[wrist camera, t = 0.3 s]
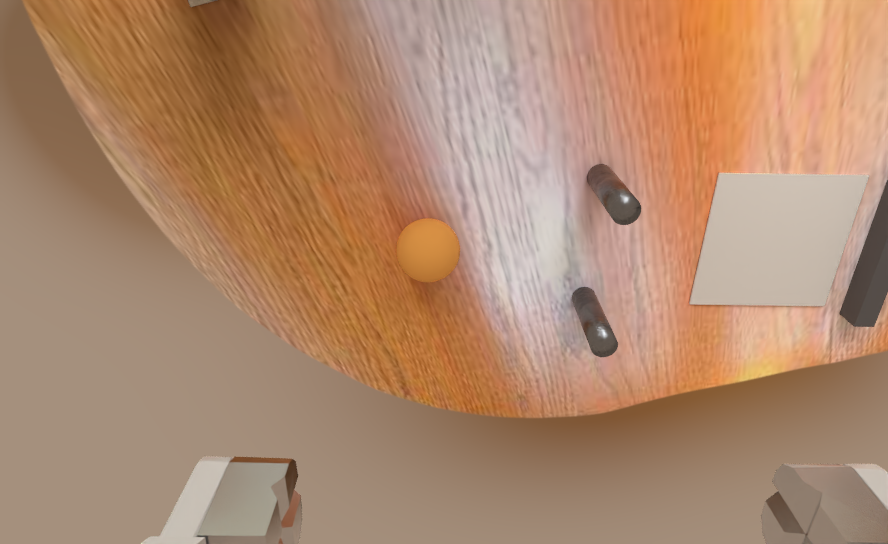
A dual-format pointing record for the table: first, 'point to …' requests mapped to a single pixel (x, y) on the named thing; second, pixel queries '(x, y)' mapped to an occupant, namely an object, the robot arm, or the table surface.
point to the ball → (427, 250)
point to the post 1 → (614, 195)
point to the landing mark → (775, 238)
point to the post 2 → (594, 322)
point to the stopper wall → (870, 273)
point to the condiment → (198, 2)
